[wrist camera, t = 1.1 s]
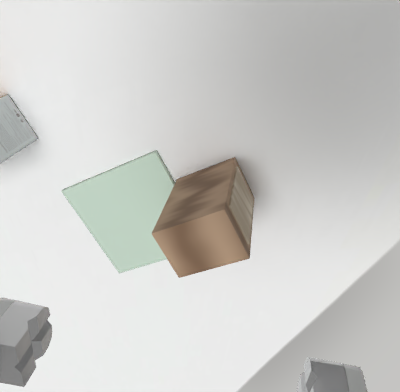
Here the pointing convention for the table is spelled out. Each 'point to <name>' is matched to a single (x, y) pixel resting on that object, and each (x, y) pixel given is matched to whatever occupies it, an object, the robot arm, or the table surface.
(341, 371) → the robot arm
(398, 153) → the table surface
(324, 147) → the table surface
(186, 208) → the walnut block
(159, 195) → the green glass pane
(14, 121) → the small box
